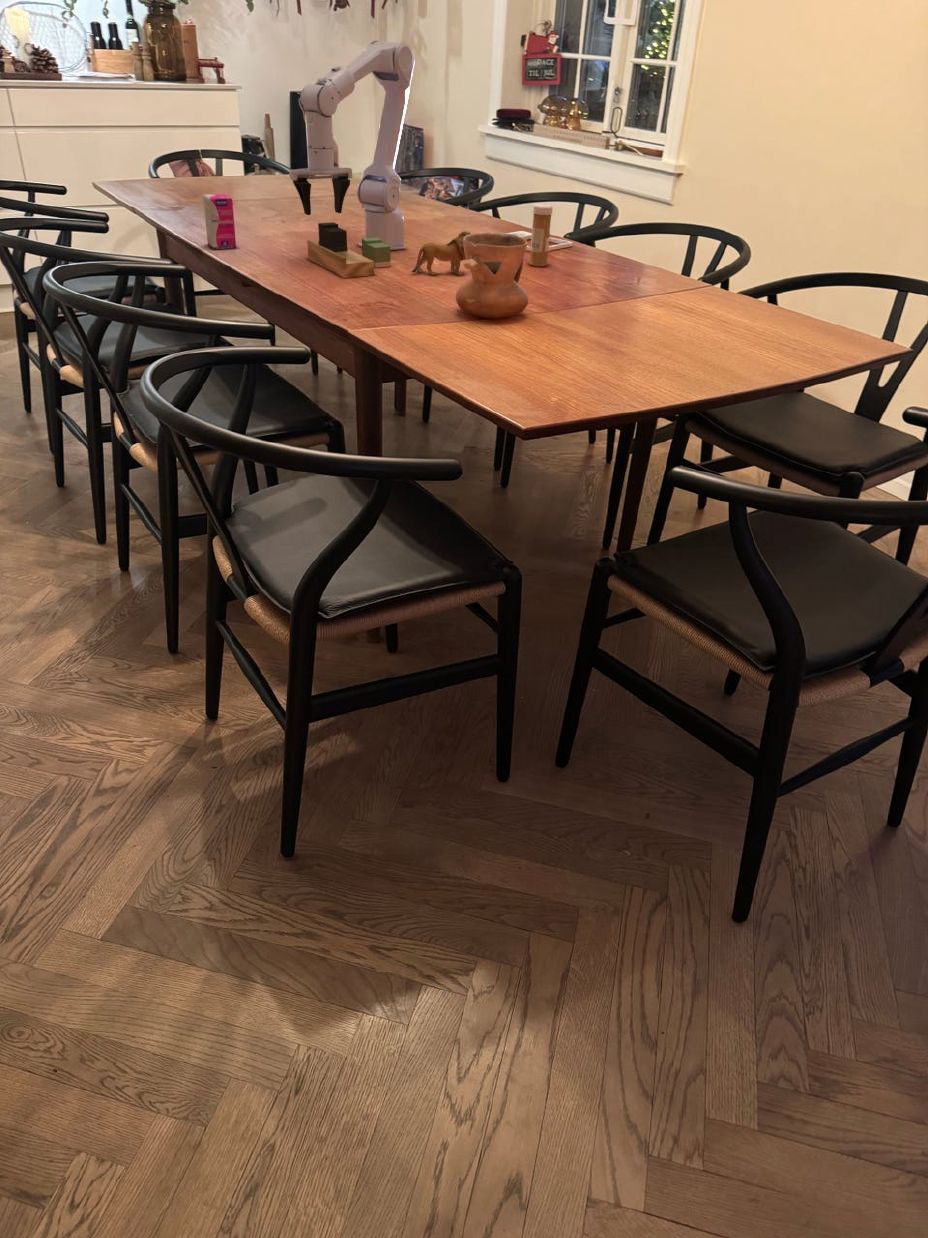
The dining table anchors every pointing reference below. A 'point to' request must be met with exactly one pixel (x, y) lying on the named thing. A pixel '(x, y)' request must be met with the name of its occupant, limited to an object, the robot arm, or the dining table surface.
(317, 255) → the wooden tray
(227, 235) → the supplement box
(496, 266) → the ceramic jug
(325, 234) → the black block
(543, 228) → the sprinkles bottle
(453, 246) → the lion figurine
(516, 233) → the photo frame
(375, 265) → the green block
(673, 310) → the dining table surface
